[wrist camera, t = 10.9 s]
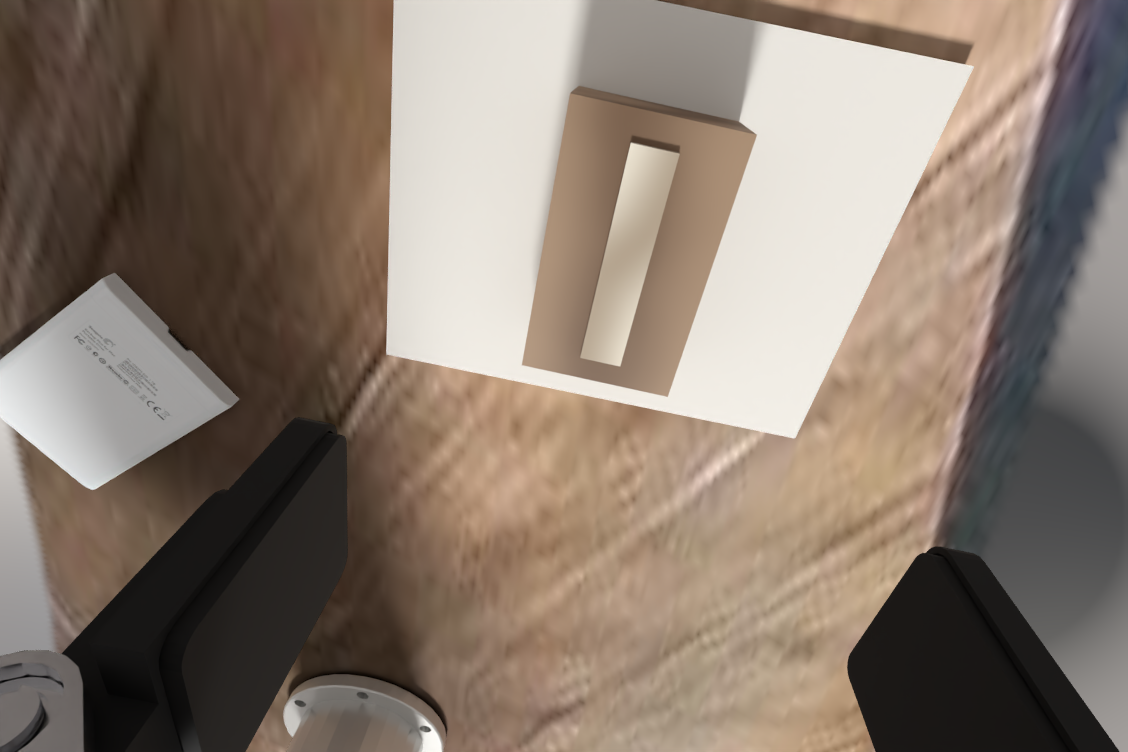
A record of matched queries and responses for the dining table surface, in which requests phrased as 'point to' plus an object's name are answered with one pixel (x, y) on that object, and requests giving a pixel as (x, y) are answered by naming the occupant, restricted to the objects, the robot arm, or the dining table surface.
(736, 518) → the dining table surface
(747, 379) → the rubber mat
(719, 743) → the dining table surface
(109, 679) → the robot arm
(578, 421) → the dining table surface
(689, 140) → the slotted tan block
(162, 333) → the external hard drive
